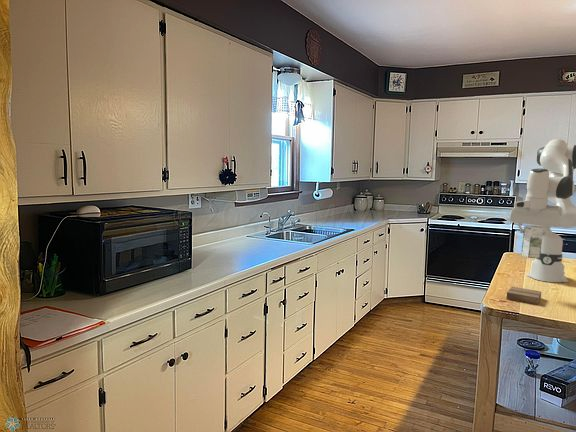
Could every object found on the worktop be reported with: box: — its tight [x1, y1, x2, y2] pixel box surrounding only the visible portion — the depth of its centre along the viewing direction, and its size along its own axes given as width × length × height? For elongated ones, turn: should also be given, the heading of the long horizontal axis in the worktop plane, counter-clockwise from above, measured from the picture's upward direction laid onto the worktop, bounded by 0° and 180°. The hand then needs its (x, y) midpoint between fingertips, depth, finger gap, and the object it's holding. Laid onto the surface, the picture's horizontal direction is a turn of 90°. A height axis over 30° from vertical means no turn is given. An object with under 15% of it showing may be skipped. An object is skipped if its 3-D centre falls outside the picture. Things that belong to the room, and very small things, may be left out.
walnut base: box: [506, 286, 542, 306], centre depth 191 cm, size 12×12×3 cm
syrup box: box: [520, 225, 543, 259], centre depth 197 cm, size 6×6×14 cm
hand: (533, 234), depth 197 cm, fingers closed on syrup box, 8 cm apart
